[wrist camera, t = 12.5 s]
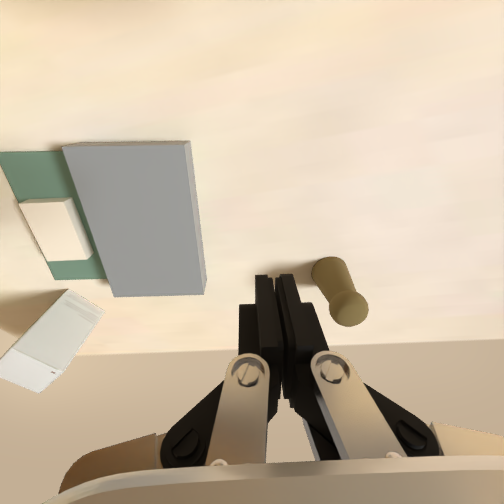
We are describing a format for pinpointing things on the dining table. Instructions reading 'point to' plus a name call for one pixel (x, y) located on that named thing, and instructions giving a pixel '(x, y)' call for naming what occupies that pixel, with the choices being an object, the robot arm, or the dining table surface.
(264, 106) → the dining table surface
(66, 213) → the card
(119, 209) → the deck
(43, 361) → the supplement box
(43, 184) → the mat
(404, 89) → the dining table surface
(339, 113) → the dining table surface
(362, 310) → the cork
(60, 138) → the dining table surface
